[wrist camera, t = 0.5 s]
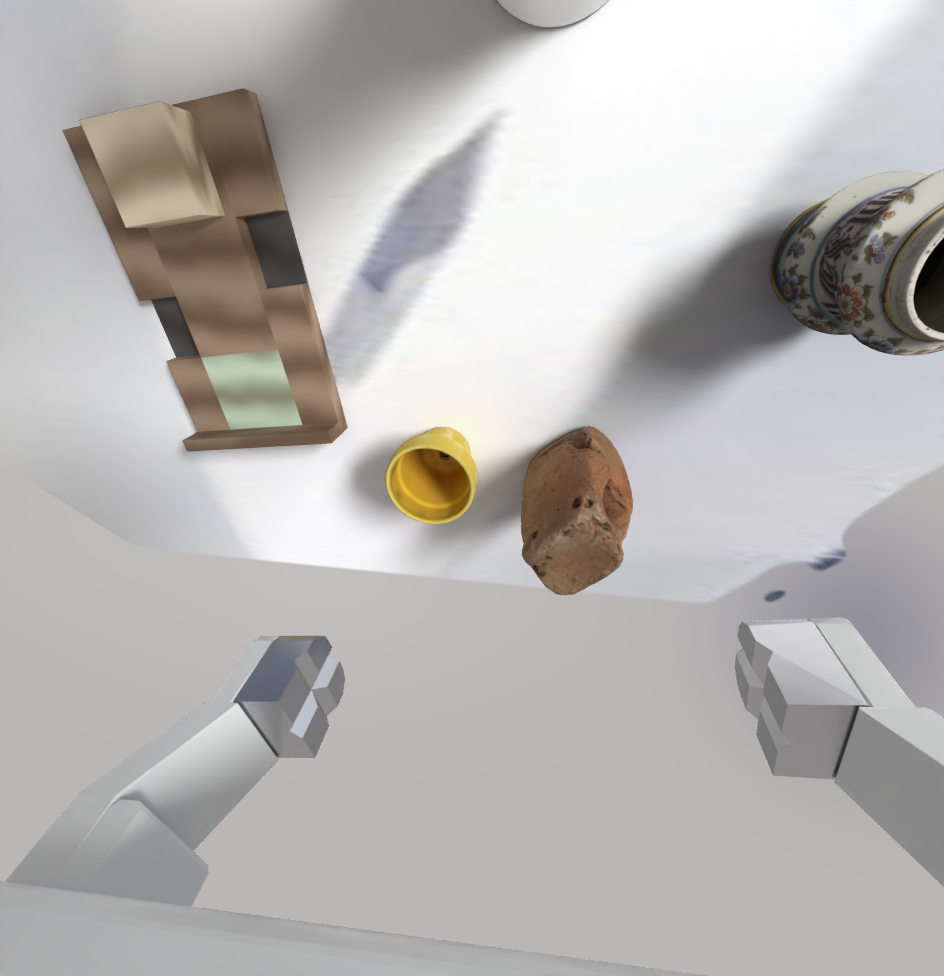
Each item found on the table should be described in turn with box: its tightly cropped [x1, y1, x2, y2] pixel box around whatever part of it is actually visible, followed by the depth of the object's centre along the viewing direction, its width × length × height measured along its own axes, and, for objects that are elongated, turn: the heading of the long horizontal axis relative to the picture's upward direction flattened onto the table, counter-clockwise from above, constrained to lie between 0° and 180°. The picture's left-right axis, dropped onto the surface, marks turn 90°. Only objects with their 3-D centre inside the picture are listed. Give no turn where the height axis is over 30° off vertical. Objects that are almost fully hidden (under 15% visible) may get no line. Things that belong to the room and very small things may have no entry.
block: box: [521, 426, 633, 595], centre depth 48 cm, size 11×8×20 cm
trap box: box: [63, 89, 348, 451], centre depth 51 cm, size 34×20×5 cm, turn 7°
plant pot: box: [386, 427, 477, 524], centre depth 54 cm, size 10×10×10 cm
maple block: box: [80, 101, 225, 228], centre depth 43 cm, size 8×8×4 cm
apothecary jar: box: [771, 169, 944, 355], centre depth 34 cm, size 12×12×18 cm
